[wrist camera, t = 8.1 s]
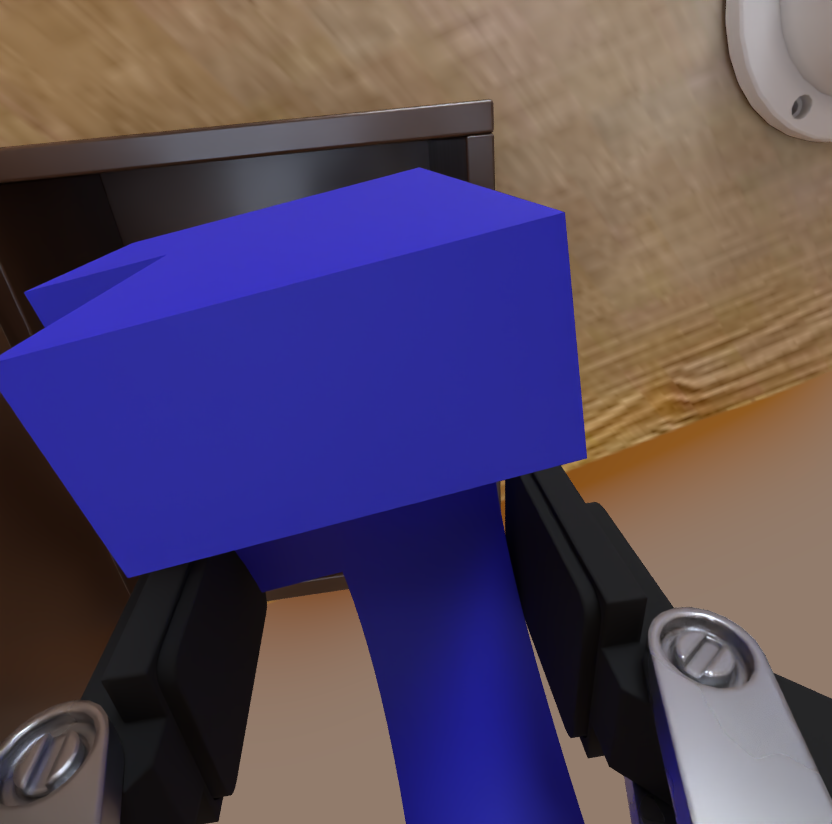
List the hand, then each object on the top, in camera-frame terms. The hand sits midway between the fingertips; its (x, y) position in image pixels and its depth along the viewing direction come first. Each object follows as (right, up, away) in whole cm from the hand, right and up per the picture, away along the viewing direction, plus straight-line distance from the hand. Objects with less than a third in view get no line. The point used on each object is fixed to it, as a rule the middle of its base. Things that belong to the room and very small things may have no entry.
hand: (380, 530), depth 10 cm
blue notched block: (0, 0, +1) cm, 1 cm away
